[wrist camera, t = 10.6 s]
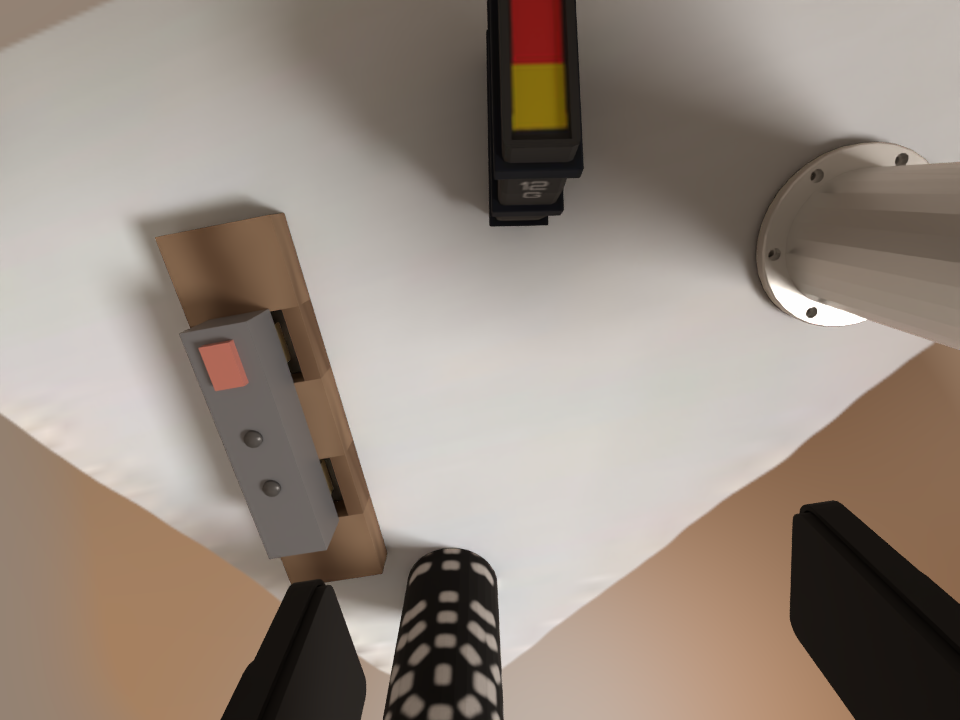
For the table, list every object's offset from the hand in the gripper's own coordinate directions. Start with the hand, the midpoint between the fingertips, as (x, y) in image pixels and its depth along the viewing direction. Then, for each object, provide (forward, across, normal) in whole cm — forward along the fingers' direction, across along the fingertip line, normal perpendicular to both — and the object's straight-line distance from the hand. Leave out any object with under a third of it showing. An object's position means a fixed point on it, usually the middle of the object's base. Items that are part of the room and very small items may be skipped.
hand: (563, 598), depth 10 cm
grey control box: (+28, +18, +6) cm, 34 cm away
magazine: (+28, -3, -12) cm, 31 cm away
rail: (+28, +18, +6) cm, 34 cm away
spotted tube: (+28, +9, +26) cm, 39 cm away
